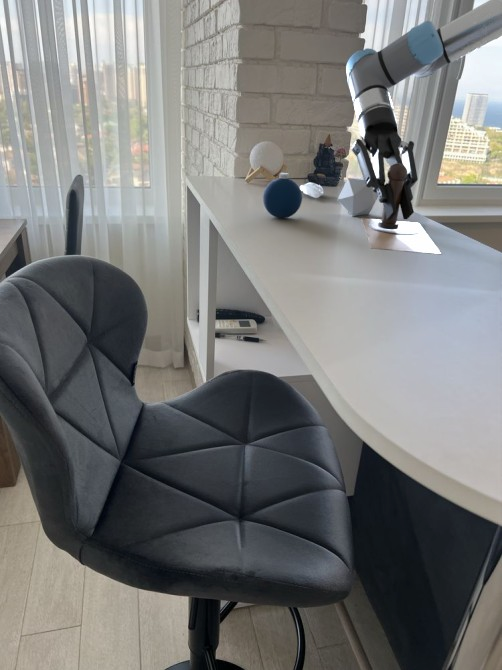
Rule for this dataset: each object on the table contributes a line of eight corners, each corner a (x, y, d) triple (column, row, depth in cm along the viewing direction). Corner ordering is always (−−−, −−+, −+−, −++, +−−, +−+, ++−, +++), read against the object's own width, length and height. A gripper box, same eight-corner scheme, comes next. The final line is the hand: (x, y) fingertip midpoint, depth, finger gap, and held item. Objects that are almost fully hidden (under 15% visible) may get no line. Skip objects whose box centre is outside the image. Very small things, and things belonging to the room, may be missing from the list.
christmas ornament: (308, 219, 110) (312, 172, 106) (279, 224, 105) (283, 174, 101) (282, 211, 116) (285, 166, 112) (254, 215, 111) (256, 168, 107)
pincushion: (327, 200, 130) (330, 178, 128) (304, 199, 130) (306, 177, 127) (317, 191, 141) (319, 170, 138) (295, 191, 140) (297, 169, 138)
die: (379, 222, 114) (391, 182, 116) (352, 203, 110) (365, 162, 111) (352, 227, 122) (364, 189, 123) (326, 210, 117) (338, 171, 118)
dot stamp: (396, 225, 106) (408, 162, 100) (399, 230, 102) (411, 165, 96) (377, 223, 106) (387, 161, 100) (379, 228, 102) (390, 164, 97)
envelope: (418, 224, 112) (419, 221, 111) (441, 256, 90) (442, 253, 90) (361, 219, 113) (361, 217, 113) (370, 250, 91) (371, 247, 91)
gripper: (401, 131, 111) (426, 225, 105) (333, 129, 108) (355, 226, 101) (419, 106, 105) (446, 205, 98) (347, 102, 101) (371, 205, 94)
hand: (400, 215), depth 99 cm, fingers closed on dot stamp, 3 cm apart
